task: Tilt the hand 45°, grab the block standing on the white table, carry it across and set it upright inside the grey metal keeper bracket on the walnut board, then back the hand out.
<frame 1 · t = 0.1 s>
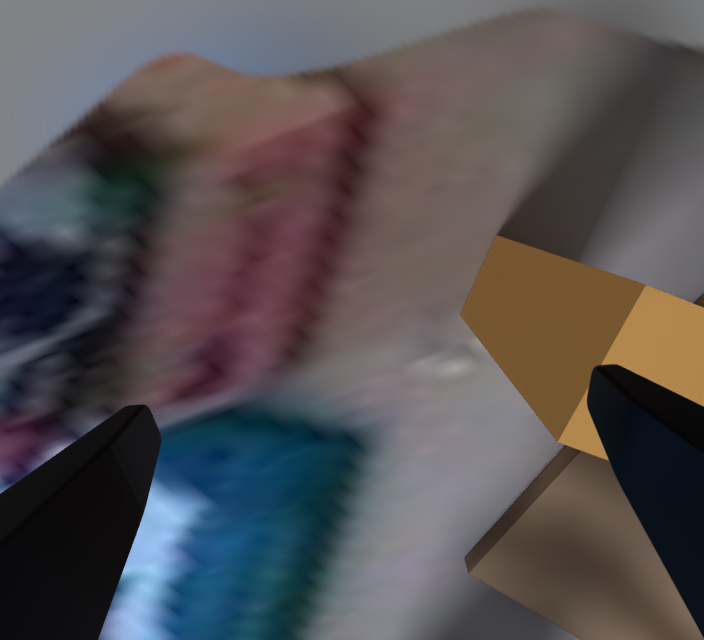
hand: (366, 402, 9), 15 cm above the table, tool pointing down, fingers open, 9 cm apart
keeper: (669, 503, 27), on the table
block: (517, 291, 24), on the table
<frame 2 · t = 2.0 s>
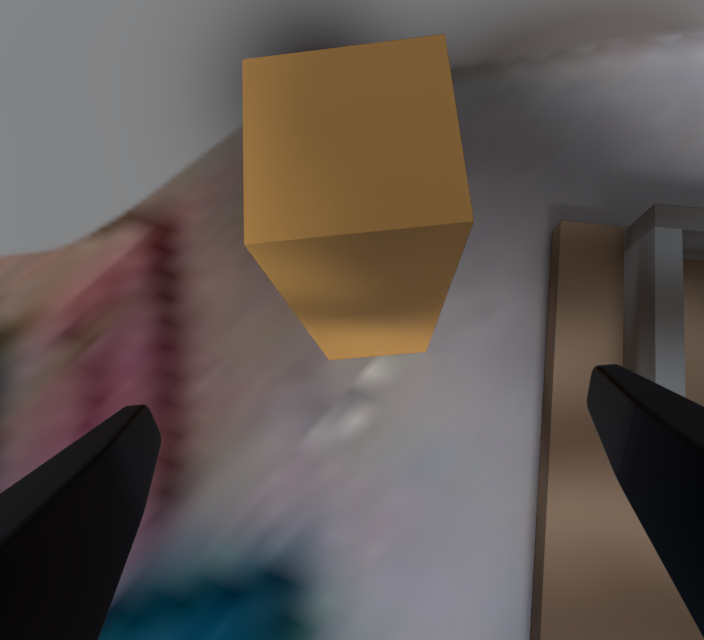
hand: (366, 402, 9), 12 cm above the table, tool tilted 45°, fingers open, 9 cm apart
block: (373, 309, 22), on the table
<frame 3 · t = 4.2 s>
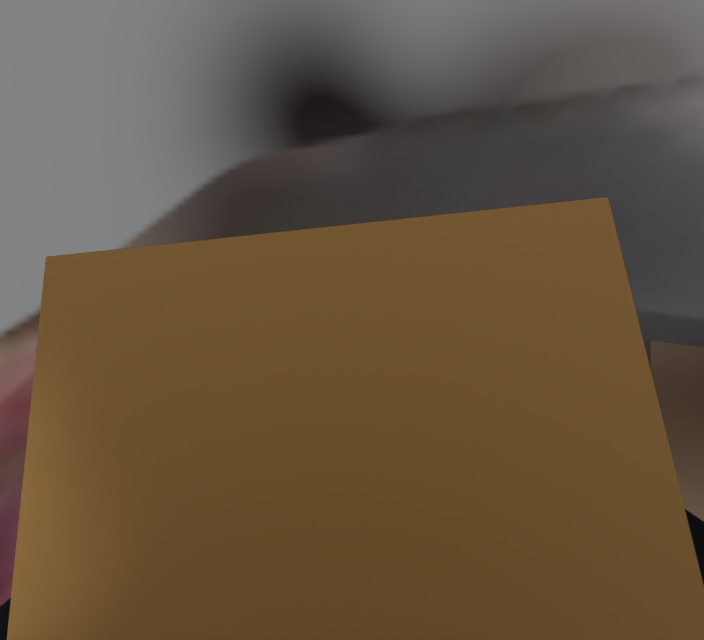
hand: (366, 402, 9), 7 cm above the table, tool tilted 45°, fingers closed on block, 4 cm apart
block: (379, 461, 16), on the table, touching gripper
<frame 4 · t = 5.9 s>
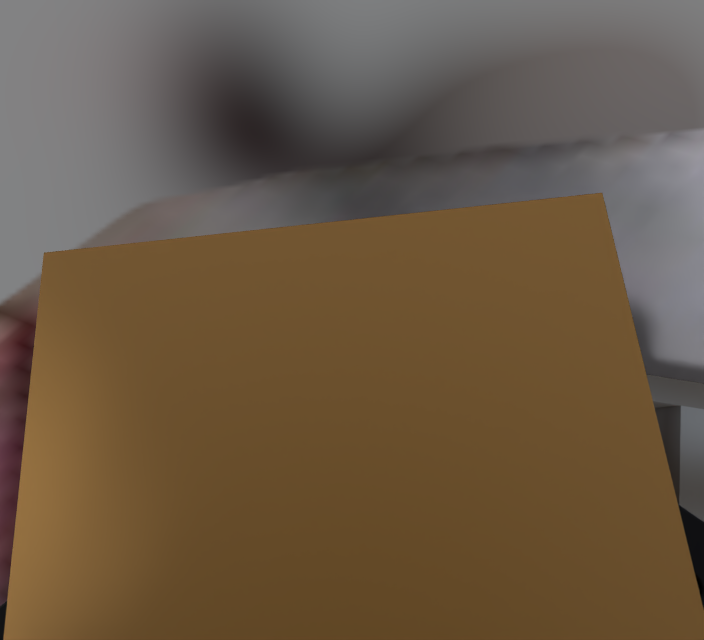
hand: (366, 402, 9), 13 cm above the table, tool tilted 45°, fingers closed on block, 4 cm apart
keeper: (532, 599, 20), on the table
block: (378, 460, 16), point 6 cm above the table, touching gripper
when the fingers open (9 cm above the table, at t = 7.7 s): block drops 1 cm, resting on keeper.
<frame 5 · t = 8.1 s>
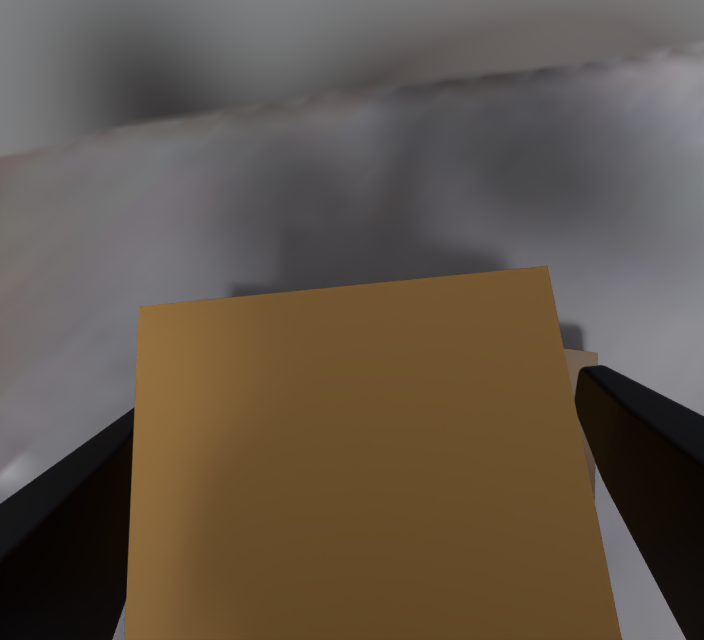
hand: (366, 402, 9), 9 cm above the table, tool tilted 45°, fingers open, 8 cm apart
keeper: (363, 598, 17), on the table
block: (380, 458, 17), point 1 cm above the table, touching keeper
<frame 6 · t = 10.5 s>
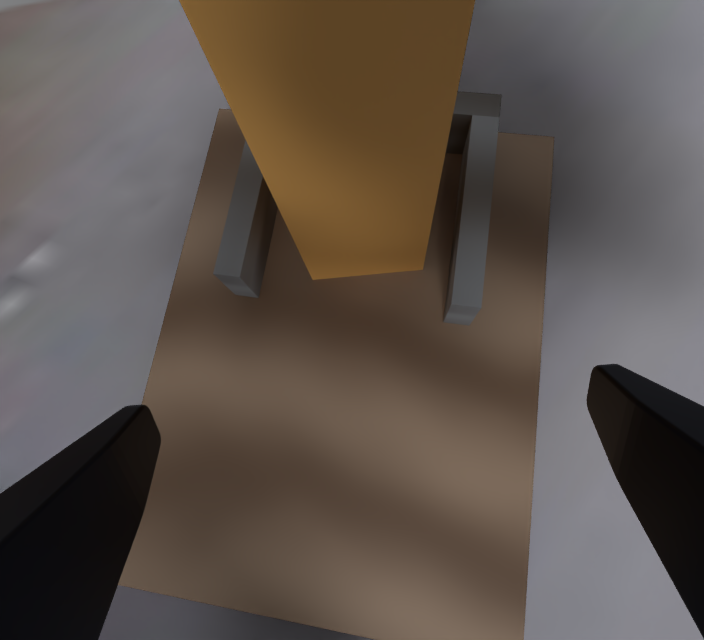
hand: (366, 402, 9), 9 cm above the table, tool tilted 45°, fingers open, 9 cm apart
keeper: (346, 346, 19), on the table
block: (363, 224, 19), point 1 cm above the table, touching keeper
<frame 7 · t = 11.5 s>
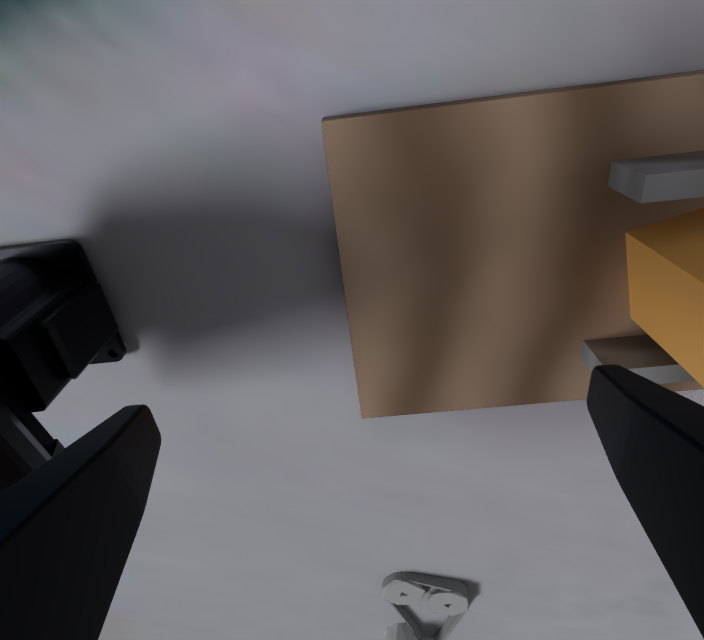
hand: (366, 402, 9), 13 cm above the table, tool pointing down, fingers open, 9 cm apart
keeper: (555, 262, 22), on the table
block: (680, 261, 21), point 1 cm above the table, touching keeper
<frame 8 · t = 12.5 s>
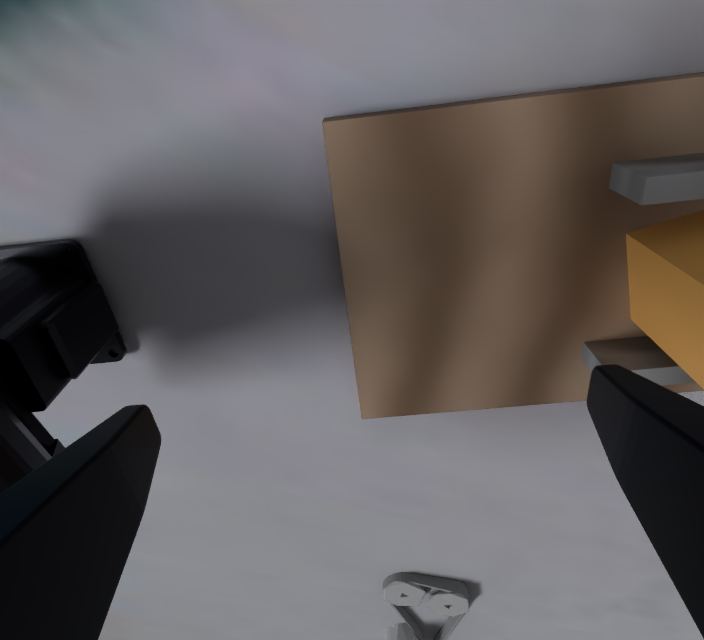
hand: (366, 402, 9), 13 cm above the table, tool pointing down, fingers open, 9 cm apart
keeper: (556, 264, 22), on the table
block: (681, 263, 21), point 1 cm above the table, touching keeper
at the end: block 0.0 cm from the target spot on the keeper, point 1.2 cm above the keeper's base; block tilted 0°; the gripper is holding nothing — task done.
